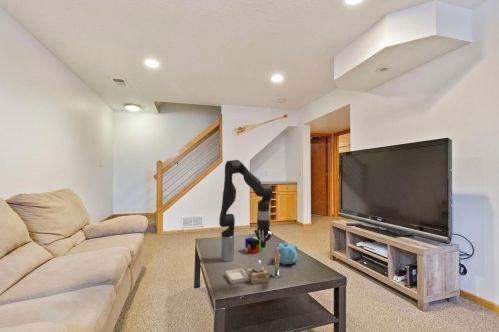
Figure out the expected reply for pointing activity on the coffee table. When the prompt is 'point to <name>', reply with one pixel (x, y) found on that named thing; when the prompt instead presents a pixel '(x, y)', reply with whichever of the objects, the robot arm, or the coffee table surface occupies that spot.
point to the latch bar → (277, 256)
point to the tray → (237, 276)
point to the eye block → (258, 276)
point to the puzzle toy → (253, 245)
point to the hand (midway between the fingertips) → (263, 247)
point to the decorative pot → (287, 253)
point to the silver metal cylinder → (257, 266)
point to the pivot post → (277, 272)
